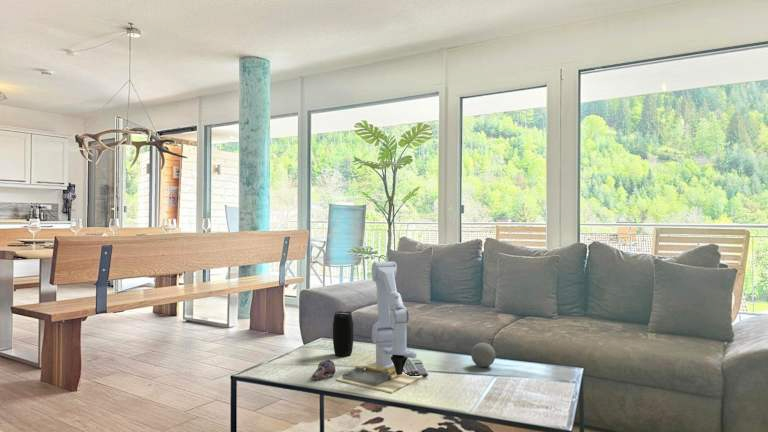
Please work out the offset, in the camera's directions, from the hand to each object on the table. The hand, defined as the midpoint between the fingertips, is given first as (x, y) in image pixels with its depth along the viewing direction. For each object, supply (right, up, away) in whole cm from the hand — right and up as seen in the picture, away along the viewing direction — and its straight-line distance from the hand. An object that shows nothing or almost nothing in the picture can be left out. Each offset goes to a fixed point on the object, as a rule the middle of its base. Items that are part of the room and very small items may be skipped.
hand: (399, 374), depth 204 cm
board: (-8, -2, -1) cm, 8 cm away
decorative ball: (+36, -2, +15) cm, 39 cm away
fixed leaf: (-13, -1, -2) cm, 13 cm away
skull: (-31, -2, +2) cm, 31 cm away
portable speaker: (-25, -2, +35) cm, 43 cm away
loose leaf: (-8, -1, +5) cm, 9 cm away
